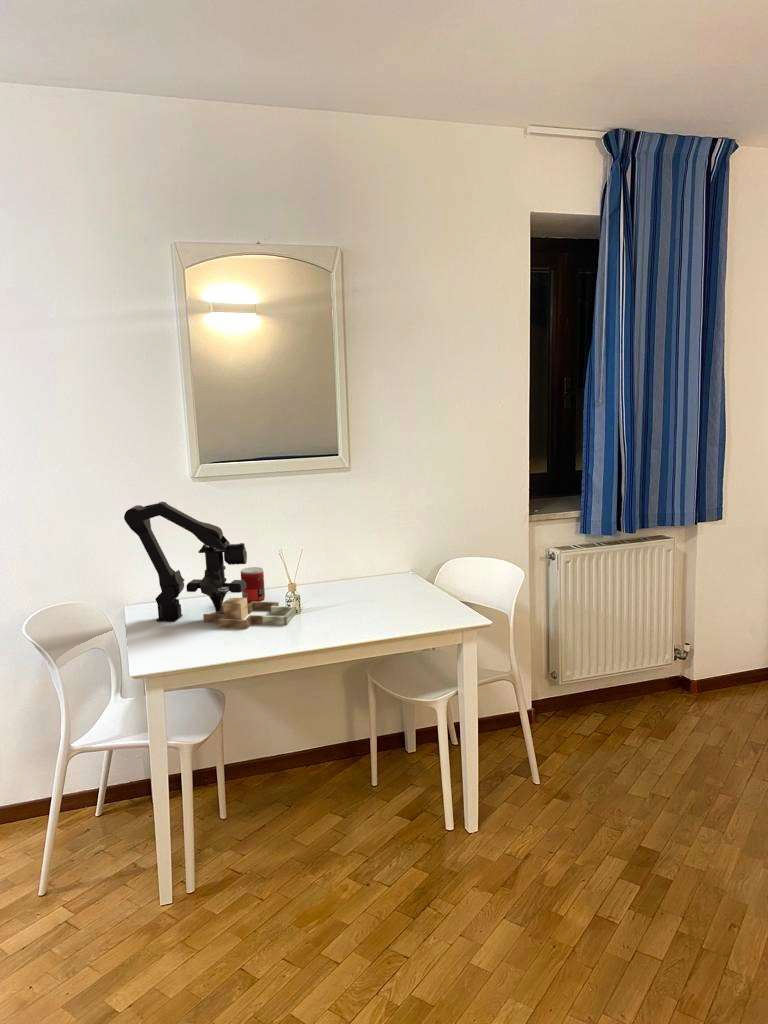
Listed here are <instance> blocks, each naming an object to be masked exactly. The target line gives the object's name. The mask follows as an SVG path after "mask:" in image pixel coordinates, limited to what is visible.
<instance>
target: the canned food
mask: <svg viewBox="0 0 768 1024" xmlns="http://www.w3.org/2000/svg"><path fill="white" fill-rule="evenodd" d="M264 573H265V572H264V569H263V567H260V566H259V567H258V566H251V567H245V568H242V569H241V570H240V580H244V581H245V582H246V587H247V588H246V589H244V590H243V591H242V592H241V596H242V597H241V598H247V604H250V603H251V602H252V601H253V602H264V601H265V597H266V594H265V593H266V592H265V591H266V590H265V574H264Z"/></svg>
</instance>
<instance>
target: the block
mask: <svg viewBox="0 0 768 1024" xmlns="http://www.w3.org/2000/svg"><path fill="white" fill-rule="evenodd" d="M222 605H223V610H224V613H223V614H224V615H228V619H239V620H245V619H246V618H247V617H249V614H248V606H247V605H248V602H247V598H242V597H229V598H227V599H226V600H224V601H223V603H222Z"/></svg>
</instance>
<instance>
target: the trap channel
mask: <svg viewBox="0 0 768 1024" xmlns="http://www.w3.org/2000/svg"><path fill="white" fill-rule="evenodd" d="M247 606H248V616H247V617H246V618H244V619H243V620H239V619H228V615H224V610H223V604H222V606H221V609H220V611H216V609H215V613H213V614H212V613H203V623H214V624H215V623H218V628H225V629H226V628H227V629H249V628H250V627H251V626H252V625H254V624H255V625H256V624H257V625H280V626H281V625H283V626H287V625H288V624H289V623H290V622H291V621H292V620H293V619H294V618H295V616H296V615H298V614H297V613H296V610H297V606H289V607H287V606H285V605H284V606H282V605H280V603H279V601H260V602H253V601H252V602H251V603H247ZM256 610H258V611H259V610H261V611H262V610H263V611H270V614H271V615H258V614H257V615H256V614H255V615H254V614H251V613H252V612H253V611H256Z"/></svg>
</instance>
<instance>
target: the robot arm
mask: <svg viewBox="0 0 768 1024" xmlns="http://www.w3.org/2000/svg"><path fill="white" fill-rule="evenodd" d="M155 517H162V518H163V519H166V520H168V521H170V522H172V523H173V524H175V525H177V526H179V527H180V528H183V529H184V530H186V531H187V532H190V533H191V534H192V535H194V536H195V537H196V539H198V540H199V541H200V542H201V543H203V545H202V546H201V548H200V549H199V550H198V552H197V553H198V554H204V557H205V569H204V576H203V578H201V579H199V578H198V579H196V578H194V579H191V580H190V581H189V582H188V583H186V587H185V578H183V576H182V574H181V571H180V569H178V570H176V571H175V570H174V569H173V568H172V566H171V565H170V563H169V561H168V558H167V557H166V556H165V553H164V552H163V549H162V547H161V546H160V544H159V541H158V540H157V538H156V536H155V534H154V532H153V530H152V524H151V519H152V518H155ZM123 519H124V521H125V523H126V525H127V526H128V527H129V529H130V530H131V531H132V532H133V533H135V535H137V536H138V538H139V539H140V542H141V544H142V546H143V548H144V550H145V551H146V553H147V555H148V557H149V559H150V561H151V563H152V565H153V567H154V569H155V571H156V573H157V575H158V582H159V587H160V590H161V592H160V593H159V594H158V595H157V596H156V598H155V601H156V604H157V614H158V618H157V619H156V622H171V623H172V622H176V621H177V620H179V619H180V618H182V617H183V613H182V605H181V603H180V599H177V598H178V597H179V595H180V594H181V593H182V592H183V590H184V588H186V592H187V593H189V592H190V593H196V591H198V590H199V589H200V593H202V594H203V595H205V596H208V597H209V599H210V600H211V603H212V604H213V607H214V608H215V609H216V610H215V612H216V611H220V609H221V606H222V605H223V603H224V601H225V600H224V599H225V597H226V595H227V593H229V592H230V593H232V594H233V593H234V594H235V593H238V594H239V593H242V591H243V590H244V589H246V588H247V587H246V582H245V581H244V580H241V579H233V580H232V581H231V582H227V577H226V575H225V574H226V573H225V570H226V566H225V563H226V564H227V565H246V564H247V562H248V553H247V552H248V551H247V549H246V545H245V543H243V542H242V543H233V544H232V543H231V542H230V541H229V540H228V539H227V537H225V536H224V533H223V530H222V528H221V527H219V526H217V525H214V524H211V523H209V522H208V523H207V522H202V521H200V520H197V518H196V519H195V518H193V517H192V516H190V515H188V514H187V513H184V512H183V511H181V510H179V509H177V508H176V507H174V506H171V505H170V504H169V503H167V502H166V501H159V502H156V503H153V504H148V505H145V506H143V505H140V504H139V505H138V504H136V505H134V506H132V507H130V508H128V509H127V510H126V512H124V516H123ZM224 562H225V563H224Z"/></svg>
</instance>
